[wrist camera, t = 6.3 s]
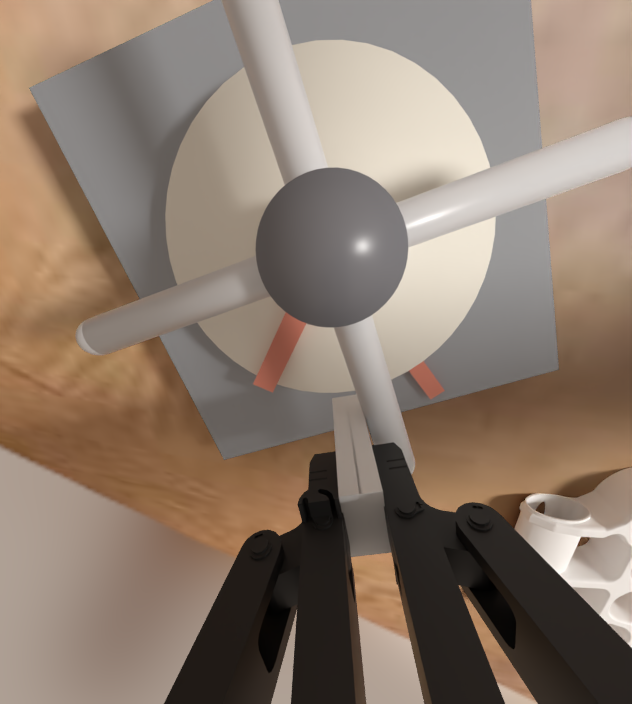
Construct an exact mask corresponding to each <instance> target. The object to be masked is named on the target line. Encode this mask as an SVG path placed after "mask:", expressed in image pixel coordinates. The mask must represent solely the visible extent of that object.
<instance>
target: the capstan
mask: <svg viewBox="0 0 632 704" xmlns="http://www.w3.org/2000/svg"><path fill="white" fill-rule="evenodd" d="M221 1H222V4H223V7H224V10H225V13H226V15H227V18H228V21H229V24H230V27H231V30H232V33H233V36H234V39H235V42H236V45H237V47H238V50H239V53H240V56H241V59H242V62H243V65H244V67H243V68H242V69H241V70H240V71H238V72H237V73H236V74H235V75H233V76H232V77H231V78H229V79H228V80H227V81H226V82H224V83H223V84H222V85H221V86H220V88H219V89H218V90H217V91H216V92H215V93H214V94H213V95H212V96H211V97H210V98H209V99H208V100H207V101H206V103H205V104H204V106H203V107H202V108H201V110H200V111H199V113H198V114H197V116H196V117H195V119H194V120H193V121H192V123H191V125H190V127H189V129H188V131H187V133H186V135H185V137H184V139H183V141H182V143H181V144H180V147H179V150H178V153H177V156H176V159H175V161H174V164H173V167H172V171H171V176H170V181H169V185H168V190H167V200H166V212H165V222H166V240H167V246H168V252H169V258H170V263H171V266H172V270H173V273H174V276H175V280H176V283H177V285H176V286H174V287H171V288H168V289H166V290H163V291H160V292H158V293H155V294H152V295H150V296H147V297H144V298H142V299H139V300H136V301H134V302H131V303H128V304H126V305H123V306H120V307H118V308H115V309H112V310H110V311H107V312H104V313H102V314H99V315H96V316H94V317H91V318H89V319H87V320H85V321H83V322H82V323H81V324H80V325H79V326H78V328H77V330H76V341H77V343H78V345H79V346H80V347H81V348H82V349H83V350H84V351H86V352H88V353H90V354H93V355H106V354H110V353H112V352H115V351H118V350H121V349H124V348H126V347H129V346H132V345H135V344H138V343H141V342H143V341H146V340H149V339H152V338H155V337H157V336H160V335H163V334H166V333H169V332H172V331H174V330H177V329H180V328H183V327H186V326H189V325H191V324H194V323H198V324H199V326H200V327H201V328H202V330H203V331H204V332H205V334H206V335H207V336H208V337H209V338H210V339H211V340H212V342H213V343H214V344H215V345H216V346H217V347H218V348H219V349H220V350H221V351H222V352H224V353H225V354H226V355H227V356H228V357H230V358H231V359H232V360H233V361H234V362H236V363H237V364H239V365H240V366H242V367H243V368H245V369H246V370H248V371H249V372H251V373H253V374H255V375H257V376H256V379H255V381H254V383H253V384H254V385H256V386H258V387H261V388H263V389H265V390H268V391H270V392H272V393H273V391H274V389H275V387H276V385H277V384H278V385H281V386H284V387H288V388H292V389H296V390H300V391H308V392H317V393H340V392H348V391H356V394H357V397H358V400H359V403H360V406H361V408H362V411H363V414H364V417H365V420H366V423H367V426H368V429H369V432H370V435H371V438H372V441H373V443H374V445H378V444H385V443H392V442H394V443H395V444H396V445H397V446H399V447H400V448H401V449H402V452H403V454H404V457H405V460H406V462H407V465H408V468H409V470H410V473H411V474H412V473H413V471H414V468H415V459H414V455H413V452H412V448H411V445H410V442H409V438H408V435H407V432H406V428H405V425H404V421H403V418H402V415H401V411H400V408H399V405H398V401H397V398H396V394H395V391H394V388H393V384H392V381H391V380H392V379H394V378H396V377H398V376H400V375H402V374H404V373H406V372H408V371H409V370H411V369H412V368H414V367H415V366H417V365H418V364H420V363H421V362H423V361H424V360H425V359H427V358H428V357H429V356H430V355H431V354H433V353H434V352H435V351H436V350H437V349H439V347H440V346H441V345H442V344H443V343H444V342H445V341H446V340H447V339H448V338H449V337H450V336H451V335H452V334H453V332H454V331H455V330H456V328H457V327H458V326H459V324H460V323H461V322H462V321H463V319H464V318H465V316H466V315H467V313H468V311H469V309H470V308H471V306H472V304H473V303H474V301H475V299H476V297H477V295H478V292H479V290H480V288H481V286H482V283H483V281H484V279H485V275H486V272H487V269H488V265H489V262H490V259H491V254H492V248H493V242H494V237H495V222H496V216H499V215H502V214H504V213H507V212H510V211H513V210H516V209H519V208H521V207H524V206H527V205H530V204H533V203H536V202H538V201H541V200H544V199H547V198H550V197H552V196H555V195H558V194H561V193H564V192H567V191H569V190H572V189H575V188H578V187H581V186H583V185H586V184H589V183H592V182H595V181H598V180H600V179H603V178H606V177H609V176H612V175H615V174H617V173H620V172H623V171H625V170H628V169H630V168H632V116H629V117H625V118H621V119H618V120H616V121H613V122H610V123H608V124H605V125H602V126H600V127H597V128H594V129H592V130H589V131H586V132H584V133H581V134H578V135H576V136H573V137H570V138H568V139H565V140H562V141H560V142H557V143H554V144H552V145H549V146H546V147H544V148H541V149H538V150H536V151H533V152H531V153H528V154H525V155H523V156H520V157H517V158H515V159H512V160H509V161H507V162H504V163H501V164H499V165H496V166H493V167H491V168H490V165H489V161H488V159H487V156H486V153H485V150H484V147H483V144H482V142H481V139H480V137H479V135H478V133H477V131H476V130H475V128H474V126H473V124H472V122H471V120H470V118H469V116H468V115H467V114H466V112H465V111H464V110H463V108H462V107H461V105H460V104H459V103H458V101H457V100H456V99H455V97H454V96H453V95H452V94H451V93H450V92H449V91H448V90H447V89H446V88H445V87H444V86H443V85H442V84H441V83H440V82H439V81H438V80H437V79H436V78H435V77H434V76H432V75H431V74H430V73H428V72H427V71H425V70H424V69H423V68H421V67H420V66H419V65H417V64H416V63H414V62H412V61H410V60H408V59H407V58H405V57H403V56H401V55H399V54H397V53H395V52H393V51H390V50H387V49H384V48H381V47H378V46H374V45H371V44H368V43H362V42H355V41H348V40H315V41H310V42H305V43H300V44H295V45H292V44H291V40H290V37H289V34H288V30H287V27H286V24H285V20H284V17H283V14H282V10H281V7H280V3H279V0H221Z"/></svg>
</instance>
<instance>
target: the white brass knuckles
mask: <svg viewBox="0 0 632 704" xmlns="http://www.w3.org/2000/svg"><path fill="white" fill-rule="evenodd" d="M543 501H544V502H545V511H544V514H542V513H539V512H537V511H535V510H536V508H537V507H538V506H539V504H540V503H542V502H543ZM519 509H520V510H521V512H520V515H519V517H518V520H517V523H516V525H515V528H514V529H515V530H516V531H517V532H518V533H519V534H520V535H521V536H522V537H523V538H524V539H525V540H526V541H527V542H528V543H529V544H530V545H531V546H532V547H533V548H534V549H535V550H536V551H537V552H538V553H539V555H540V556H541V557H542V558H543V559H544V560H545V561H546V562H547V563H548V564H549V565H550V566H551V567H552V568H553V569H554V570H555V571H556V572H557V573H558V574H559V575H560V576H561V577H562V578H563V579H564V580H565V581H566V582H567V583H568V584H569V585H570V586H571V587H572V588H573V589H574V590H575V591H576V592H577V593H578V594H579V595H580V596H581V597H582V598H583V599H584V600H585V601H586V602H587V603H588V604H589V605H590V606H591V607H592V608H593V609H594V610H595V611H596V612H597V613H598V614H599V615H600V616H601V617H602V618H603V619H604V620H605V621H606V622H607V623H608V624H609V625H610V626H611V627H612V628H613V629H614V630H615V631H616V632H617V633H618V635H619V636H620V637H621V638H622V639H623V640H624V641H625V642H626V643H627V644H628V645H629V646H630V647H631V648H632V467H630V468H626V469H623V470H621V471H618V472H616V473H614V474H612V475H610V476H609V477H607V478H606V479H605V480H603V481H602V482H601V483H600V484H599V485H598V486H597V487H596V488H595V489H594V490H593V491H592V492H590V493H587V494H585V495H582V496H580V497H577V498H572V497H564V496H561V495H556V494H539V493H536V494H532V495H529V496H528V497H526V498H525V500H524V501H523V502H521V504H520V507H519ZM581 537H590V539H589V541H588V542H587V543H586V544H584V545H582V546H578V547H577V545H578V542H579V540H580V538H581Z"/></svg>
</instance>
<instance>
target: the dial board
mask: <svg viewBox="0 0 632 704" xmlns="http://www.w3.org/2000/svg"><path fill="white" fill-rule="evenodd" d="M279 3H280V7H281V10H282V14H283V17H284V20H285V24H286V27H287V30H288V34H289V37H290V40H291V44H292V45H295V44H300V43H305V42H310V41H315V40H348V41H355V42H362V43H368V44H371V45H374V46H378V47H381V48H384V49H387V50H390V51H393V52H395V53H397V54H399V55H401V56H403V57H405V58H407V59H408V60H410V61H412V62H414V63H416V64H417V65H419V66H420V67H421V68H423V69H424V70H425V71H427V72H428V73H430V74H431V75H432V76H434V77H435V78H436V79H437V80H438V81H439V82H440V83H441V84H442V85H443V86H444V87H445V88H446V89H447V90H448V91H449V92H450V93H451V94H452V95H453V96H454V97H455V99H456V100H457V101H458V103H459V104H460V105H461V107H462V108H463V110H464V111H465V112H466V114H467V115H468V116H469V118H470V120H471V122H472V124H473V126H474V128H475V130H476V131H477V133H478V135H479V137H480V139H481V142H482V144H483V147H484V150H485V153H486V156H487V159H488V161H489V165H490V168H491V167H493V166H496V165H499V164H501V163H504V162H507V161H509V160H512V159H515V158H517V157H520V156H523V155H525V154H528V153H531V152H533V151H536V150H538V149H541V148H542V140H541V127H540V114H539V101H538V87H537V74H536V61H535V48H534V35H533V22H532V8H531V0H279ZM243 67H244V65H243V62H242V59H241V56H240V53H239V50H238V47H237V45H236V42H235V39H234V36H233V33H232V30H231V27H230V24H229V21H228V18H227V15H226V13H225V10H224V7H223V4H222V1H221V0H213V1H211V2H209V3H207V4H205V5H203V6H200V7H198V8H196V9H194V10H192V11H190V12H188V13H186V14H184V15H182V16H179V17H177V18H175V19H173V20H171V21H169V22H167V23H165V24H163V25H160V26H158V27H156V28H154V29H152V30H150V31H148V32H146V33H144V34H142V35H139V36H137V37H135V38H133V39H131V40H129V41H127V42H125V43H123V44H121V45H118V46H116V47H114V48H112V49H110V50H108V51H106V52H104V53H102V54H99V55H97V56H95V57H93V58H91V59H89V60H87V61H85V62H83V63H81V64H78V65H76V66H74V67H72V68H70V69H68V70H66V71H64V72H62V73H60V74H57V75H55V76H53V77H51V78H49V79H47V80H45V81H43V82H41V83H38V84H36V85H34V86H32V87H30V88H29V89H30V91H31V93H32V95H33V96H34V98H35V100H36V102H37V104H38V106H39V108H40V110H41V112H42V114H43V116H44V117H45V119H46V121H47V123H48V125H49V127H50V129H51V131H52V133H53V135H54V136H55V138H56V140H57V142H58V144H59V146H60V148H61V150H62V152H63V154H64V156H65V157H66V159H67V161H68V163H69V165H70V167H71V169H72V171H73V173H74V175H75V177H76V178H77V180H78V182H79V184H80V186H81V188H82V190H83V192H84V194H85V196H86V198H87V199H88V201H89V203H90V205H91V207H92V209H93V211H94V213H95V215H96V217H97V218H98V220H99V222H100V224H101V226H102V228H103V230H104V232H105V234H106V236H107V238H108V239H109V241H110V243H111V245H112V247H113V249H114V251H115V253H116V255H117V257H118V259H119V260H120V262H121V264H122V266H123V268H124V270H125V272H126V274H127V276H128V278H129V280H130V281H131V283H132V285H133V287H134V289H135V291H136V293H137V295H138V297H139V299H142V298H144V297H147V296H150V295H152V294H155V293H158V292H160V291H163V290H166V289H168V288H171V287H174V286H176V285H177V283H176V280H175V276H174V273H173V270H172V266H171V263H170V258H169V252H168V246H167V240H166V222H165V212H166V200H167V190H168V185H169V181H170V176H171V171H172V167H173V164H174V161H175V159H176V156H177V153H178V150H179V147H180V144H181V143H182V141H183V139H184V137H185V135H186V133H187V131H188V129H189V127H190V125H191V123H192V121H193V120H194V119H195V117H196V116H197V114H198V113H199V111H200V110H201V108H202V107H203V106H204V104H205V103H206V101H207V100H208V99H209V98H210V97H211V96H212V95H213V94H214V93H215V92H216V91H217V90H218V89H219V88H220V86H221V85H222V84H223V83H224V82H226V81H227V80H228V79H229V78H231V77H232V76H233V75H235V74H236V73H237V72H238V71H240V70H241V69H242V68H243ZM159 337H160V339H161V341H162V342H163V344H164V346H165V348H166V350H167V352H168V354H169V356H170V358H171V360H172V362H173V363H174V365H175V367H176V369H177V371H178V373H179V375H180V377H181V379H182V381H183V382H184V384H185V386H186V388H187V390H188V392H189V394H190V396H191V398H192V400H193V402H194V403H195V405H196V407H197V409H198V411H199V413H200V415H201V417H202V419H203V421H204V423H205V424H206V426H207V428H208V430H209V432H210V434H211V436H212V438H213V440H214V442H215V443H216V445H217V447H218V449H219V451H220V453H221V455H222V457H223V459H224V460H226V459H229V458H233V457H237V456H240V455H244V454H248V453H252V452H255V451H259V450H263V449H266V448H270V447H274V446H278V445H281V444H285V443H289V442H292V441H296V440H300V439H304V438H307V437H311V436H315V435H318V434H322V433H326V432H330V431H333V430H334V420H333V405H332V398H337V397H343V396H349V395H356V391H348V392H340V393H317V392H308V391H300V390H296V389H292V388H288V387H284V386H281V385H278V384H277V385H276V387H275V389H274V391H273V393H272V392H270V391H268V390H265V389H263V388H261V387H258V386H256V385H254V384H253V383H254V381H255V379H256V376H257V375H255V374H253V373H251V372H249V371H248V370H246V369H245V368H243V367H242V366H240V365H239V364H237V363H236V362H234V361H233V360H232V359H231V358H230V357H228V356H227V355H226V354H225V353H224V352H222V351H221V350H220V349H219V348H218V347H217V346H216V345H215V344H214V343H213V342H212V340H211V339H210V338H209V337H208V336H207V335H206V334H205V332H204V331H203V330H202V328H201V327H200V326H199V324H198V323H194V324H191V325H189V326H186V327H183V328H180V329H177V330H174V331H172V332H169V333H166V334H163V335H160V336H159ZM556 370H559V364H558V351H557V338H556V324H555V311H554V298H553V285H552V272H551V259H550V245H549V232H548V219H547V206H546V199H544V200H541V201H538V202H536V203H533V204H530V205H527V206H524V207H521V208H519V209H516V210H513V211H510V212H507V213H504V214H502V215H499V216H496V222H495V237H494V242H493V248H492V254H491V259H490V262H489V265H488V269H487V272H486V275H485V279H484V281H483V283H482V286H481V288H480V290H479V292H478V295H477V297H476V299H475V301H474V303H473V304H472V306H471V308H470V309H469V311H468V313H467V315H466V316H465V318H464V319H463V321H462V322H461V323H460V324H459V326H458V327H457V328H456V330H455V331H454V332H453V334H452V335H451V336H450V337H449V338H448V339H447V340H446V341H445V342H444V343H443V344H442V345H441V346H440V347H439V349H437V350H436V351H435V352H434V353H433V354H431V355H430V356H429V357H428V358H427V359H425V360H424V361H423V362H421V363H420V364H418V365H417V366H415V367H414V368H412V369H411V370H409V371H408V372H406V373H404V374H402V375H400V376H398V377H396V378H394V379H392V380H391V381H392V384H393V388H394V391H395V394H396V398H397V401H398V405H399V408H400V411H401V412H404V411H407V410H411V409H415V408H419V407H422V406H426V405H430V404H433V403H437V402H441V401H444V400H448V399H452V398H456V397H459V396H463V395H467V394H470V393H474V392H478V391H482V390H485V389H489V388H493V387H496V386H500V385H504V384H508V383H511V382H515V381H519V380H522V379H526V378H530V377H534V376H537V375H541V374H545V373H548V372H552V371H556Z"/></svg>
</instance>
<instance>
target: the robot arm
mask: <svg viewBox="0 0 632 704" xmlns="http://www.w3.org/2000/svg"><path fill="white" fill-rule="evenodd" d="M332 405H333V420H334V435H335V450H336V451H335V452H328V453H321V454H315V455H314V457H313V458H312V460H311V462H310V468H309V488H308V490H307V491H306V492H304V493H303V495H302V496H301V497H300V499H299V502H298V507H299V511H300V515H301V518H302V523H301V524H300V525H299V526H298V527H296V528H295V529H293V530H291V531H289V532H287V533H285V534H283V535H280V536H279V535H278V534H277V533H276V532H274V531H271V530H262V531H259V532H257V533H254V534H253V535H252V536H250V537H249V538H248V539H247V540H246V541H245V543H244V544H243V546H242V548H241V550H240V552H239V554H238V556H237V558H236V560H235V562H234V564H233V566H232V568H231V570H230V572H229V574H228V576H227V578H226V580H225V582H224V584H223V586H222V588H221V590H220V592H219V594H218V596H217V598H216V600H215V602H214V604H213V606H212V608H211V610H210V612H209V614H208V616H207V618H206V621H205V622H204V624H203V626H202V628H201V630H200V632H199V634H198V636H197V638H196V640H195V642H194V644H193V646H192V648H191V650H190V653H189V654H188V656H187V658H186V660H185V663H184V665H183V667H182V669H181V671H180V673H179V675H178V677H177V679H176V681H175V683H174V685H173V687H172V689H171V691H170V693H169V695H168V697H167V699H166V701H165V703H164V704H271V701H272V698H273V694H274V690H275V687H276V683H277V679H278V676H279V672H280V668H281V665H282V661H283V658H284V654H285V650H286V646H287V643H288V639H289V636H290V632H291V629H292V625H293V621H294V618H295V614H296V610H297V621H296V635H295V651H294V666H293V682H292V698H291V704H366V697H365V686H364V676H363V666H362V655H361V646H360V634H359V624H358V613H357V603H356V592H355V582H354V573H353V568H352V563H351V557H355V556H364V555H373V554H381V553H390V552H392V557H393V562H394V569H395V575H396V582H397V584H398V587H399V591H400V596H401V600H402V605H403V609H404V614H405V618H406V623H407V627H408V632H409V636H410V641H411V645H412V649H413V654H414V659H415V663H416V667H417V672H418V677H419V681H420V685H421V690H422V695H423V699H424V704H505V702H504V700H503V698H502V695H501V692H500V690H499V687H498V685H497V682H496V680H495V677H494V675H493V672H492V669H491V667H490V664H489V662H488V659H487V657H486V654H485V652H484V649H483V647H482V644H481V642H480V639H479V636H478V634H477V631H476V629H475V626H474V624H473V621H472V619H471V616H470V614H469V611H468V609H467V606H466V604H465V601H464V598H463V596H462V593H461V591H460V588H459V586H458V585H461V587H462V589H463V590H464V592H465V593H466V595H467V596H468V598H469V599H470V601H471V602H472V604H473V605H474V607H475V608H476V610H477V612H478V613H479V615H480V616H481V618H482V619H483V621H484V622H485V624H486V625H487V627H488V628H489V630H490V631H491V633H492V634H493V636H494V637H495V639H496V640H497V642H498V643H499V645H500V646H501V648H502V650H503V651H504V653H505V654H506V656H507V657H508V659H509V660H510V662H511V663H512V665H513V666H514V668H515V669H516V671H517V672H518V674H519V675H520V677H521V678H522V680H523V681H524V683H525V684H526V686H527V688H528V689H529V691H530V692H531V694H532V695H533V697H534V698H535V700H536V701H537V703H538V704H632V648H631V647H630V646H629V645H628V644H627V643H626V642H625V641H624V640H623V639H622V638H621V637H620V636H619V635H618V633H617V632H616V631H615V630H614V629H613V628H612V627H611V626H610V625H609V624H608V623H607V622H606V621H605V620H604V619H603V618H602V617H601V616H600V615H599V614H598V613H597V612H596V611H595V610H594V609H593V608H592V607H591V606H590V605H589V604H588V603H587V602H586V601H585V600H584V599H583V598H582V597H581V596H580V595H579V594H578V593H577V592H576V591H575V590H574V589H573V588H572V587H571V586H570V585H569V584H568V583H567V582H566V581H565V580H564V579H563V578H562V577H561V576H560V575H559V574H558V573H557V572H556V571H555V570H554V569H553V568H552V567H551V566H550V565H549V564H548V563H547V562H546V561H545V560H544V559H543V558H542V557H541V556H540V555H539V553H538V552H537V551H536V550H535V549H534V548H533V547H532V546H531V545H530V544H529V543H528V542H527V541H526V540H525V539H524V538H523V537H522V536H521V535H520V534H519V533H518V532H517V531H516V530H515V529H514V528H513V527H512V526H511V525H510V524H509V523H508V522H507V521H506V520H505V519H504V518H503V517H502V516H501V515H500V514H499V513H498V512H496V511H495V510H494V509H493V508H491V507H489V506H486V505H484V504H481V503H473V502H472V503H466V504H464V505H462V506H460V507H459V508H458V509H457V511H456V513H455V512H448V511H442V510H438V509H435V508H433V507H430V506H429V505H427V504H426V503H425V502H424V501H423V500H422V499H421V498H420V496H419V494H418V491H417V489H416V486H415V483H414V481H413V478H412V475H411V473H410V470H409V468H408V465H407V462H406V460H405V457H404V454H403V452H402V449H401V448H400V447H399V446H397V445H396V444H395V443H394V442H392V443H385V444H378V445H371V441H370V437H369V432H368V428H367V424H366V420H365V417H364V414H363V411H362V408H361V406H360V403H359V400H358V397H357V394H356V395H349V396H343V397H337V398H332Z"/></svg>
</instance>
